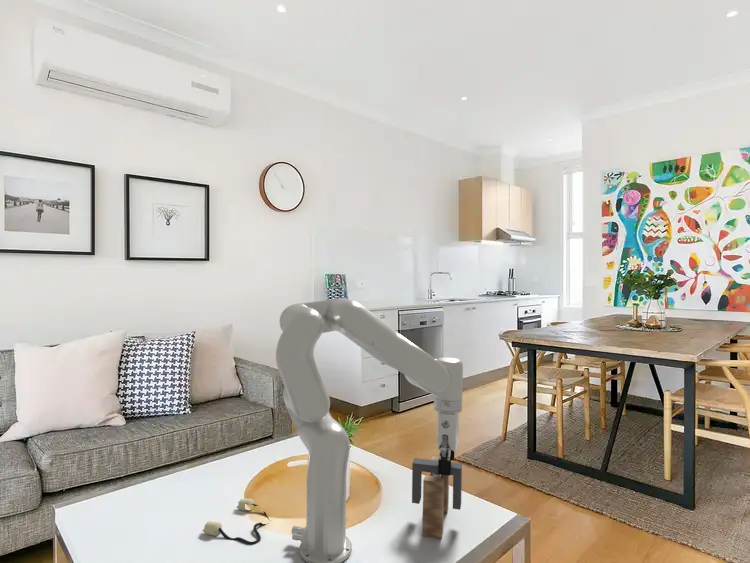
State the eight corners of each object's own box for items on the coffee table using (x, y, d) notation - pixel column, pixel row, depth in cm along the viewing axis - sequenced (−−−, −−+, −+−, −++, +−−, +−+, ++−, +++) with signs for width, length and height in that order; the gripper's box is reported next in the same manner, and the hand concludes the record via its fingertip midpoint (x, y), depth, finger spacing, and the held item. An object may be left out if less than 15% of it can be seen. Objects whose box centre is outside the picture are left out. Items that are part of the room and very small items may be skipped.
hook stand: (422, 535, 120) (423, 480, 120) (431, 505, 135) (432, 456, 135) (441, 538, 119) (442, 482, 118) (448, 507, 134) (449, 458, 134)
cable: (288, 517, 129) (288, 505, 128) (251, 551, 113) (251, 537, 113) (241, 505, 134) (241, 493, 134) (200, 536, 119) (201, 522, 119)
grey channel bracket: (411, 502, 127) (412, 462, 127) (414, 496, 130) (414, 457, 130) (460, 509, 124) (460, 468, 123) (461, 503, 127) (461, 463, 127)
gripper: (459, 415, 116) (457, 483, 117) (464, 396, 133) (463, 456, 133) (429, 412, 118) (427, 479, 119) (438, 394, 135) (436, 453, 135)
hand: (446, 466), depth 126 cm, fingers open, 9 cm apart
